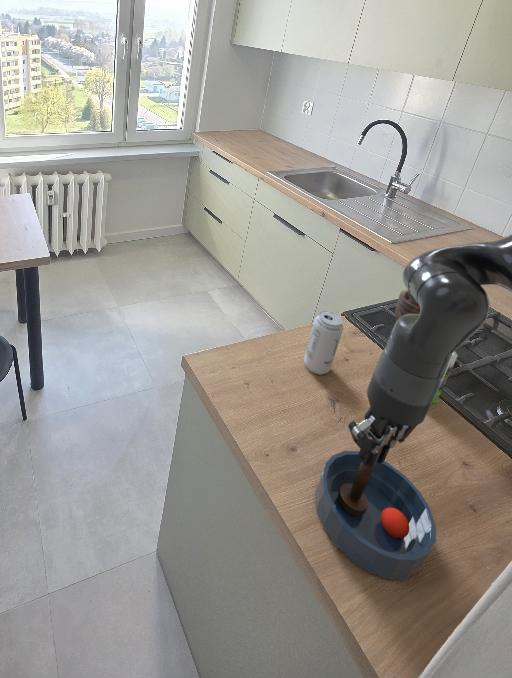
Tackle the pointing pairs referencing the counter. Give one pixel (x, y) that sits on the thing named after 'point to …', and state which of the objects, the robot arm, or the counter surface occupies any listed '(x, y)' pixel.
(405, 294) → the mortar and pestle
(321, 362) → the energy drink can
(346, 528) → the bowl
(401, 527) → the ball
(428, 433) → the counter surface
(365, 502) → the brown wooden pestle
